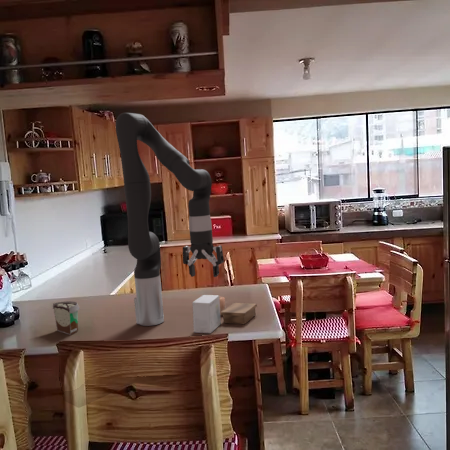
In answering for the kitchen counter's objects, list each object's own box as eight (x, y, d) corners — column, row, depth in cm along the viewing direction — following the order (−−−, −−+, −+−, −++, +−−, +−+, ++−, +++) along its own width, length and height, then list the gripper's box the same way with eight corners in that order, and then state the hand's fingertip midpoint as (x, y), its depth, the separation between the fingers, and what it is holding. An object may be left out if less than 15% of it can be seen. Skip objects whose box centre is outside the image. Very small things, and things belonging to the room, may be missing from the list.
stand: (221, 323, 171) (221, 312, 171) (234, 313, 182) (233, 302, 182) (245, 324, 168) (244, 313, 167) (257, 314, 179) (256, 303, 178)
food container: (88, 330, 174) (85, 303, 173) (73, 335, 169) (70, 307, 168) (70, 325, 182) (67, 299, 181) (55, 330, 177) (52, 303, 176)
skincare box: (211, 333, 161) (209, 302, 160) (193, 332, 163) (191, 302, 162) (222, 323, 171) (219, 294, 170) (204, 323, 173) (202, 294, 172)
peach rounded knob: (210, 315, 181) (209, 300, 181) (215, 311, 186) (214, 296, 185) (222, 316, 179) (221, 300, 179) (227, 312, 184) (226, 297, 183)
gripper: (224, 227, 164) (227, 274, 166) (187, 228, 170) (190, 273, 171) (215, 230, 157) (219, 279, 159) (176, 230, 163) (180, 278, 164)
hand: (204, 276), depth 165 cm, fingers open, 8 cm apart
